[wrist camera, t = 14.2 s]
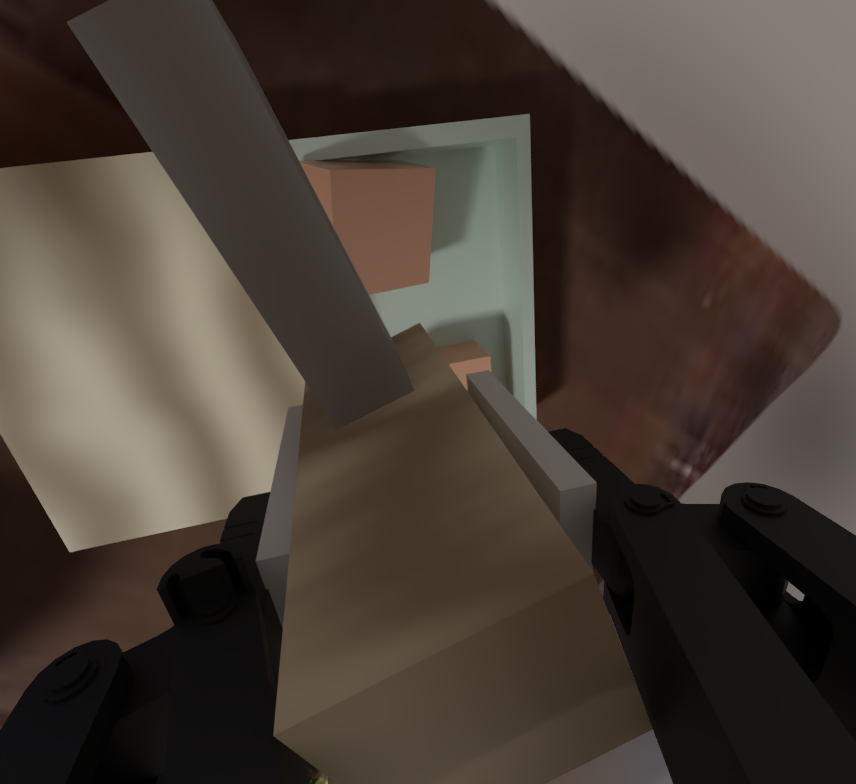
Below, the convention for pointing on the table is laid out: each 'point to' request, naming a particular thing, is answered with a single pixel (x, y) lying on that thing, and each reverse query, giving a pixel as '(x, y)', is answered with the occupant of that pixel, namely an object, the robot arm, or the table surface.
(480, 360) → the tile
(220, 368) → the board
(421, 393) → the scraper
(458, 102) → the table surface
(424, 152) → the tray
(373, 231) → the tile
